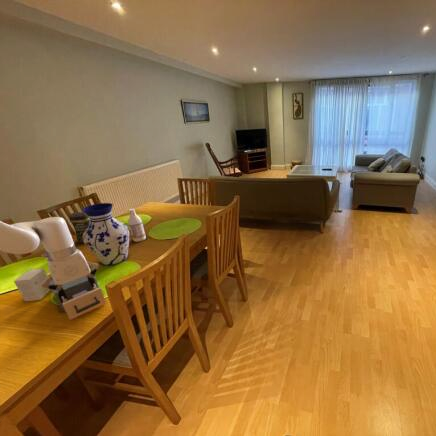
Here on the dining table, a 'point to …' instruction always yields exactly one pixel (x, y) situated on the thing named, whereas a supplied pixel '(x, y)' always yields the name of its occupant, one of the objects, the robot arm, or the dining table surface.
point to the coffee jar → (79, 224)
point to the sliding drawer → (82, 300)
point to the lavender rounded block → (79, 294)
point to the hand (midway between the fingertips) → (79, 291)
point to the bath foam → (136, 227)
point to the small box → (32, 284)
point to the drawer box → (70, 286)
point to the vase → (106, 235)
